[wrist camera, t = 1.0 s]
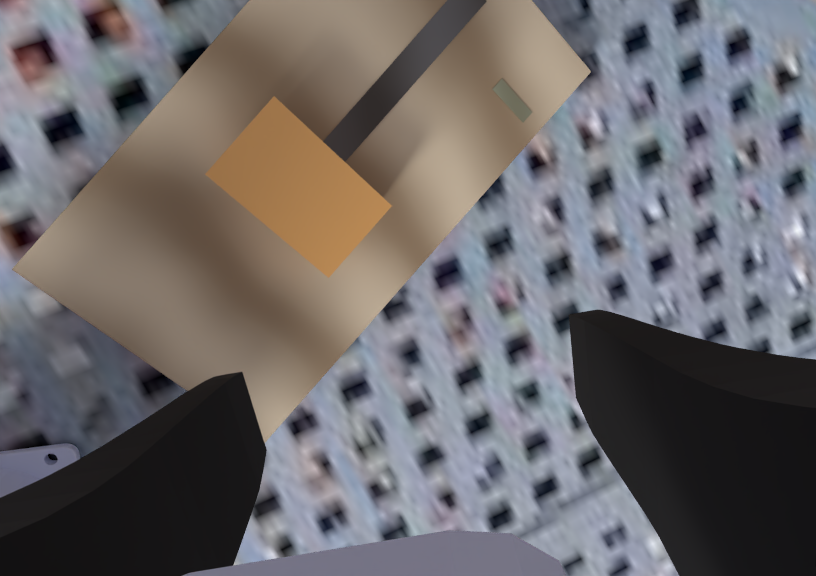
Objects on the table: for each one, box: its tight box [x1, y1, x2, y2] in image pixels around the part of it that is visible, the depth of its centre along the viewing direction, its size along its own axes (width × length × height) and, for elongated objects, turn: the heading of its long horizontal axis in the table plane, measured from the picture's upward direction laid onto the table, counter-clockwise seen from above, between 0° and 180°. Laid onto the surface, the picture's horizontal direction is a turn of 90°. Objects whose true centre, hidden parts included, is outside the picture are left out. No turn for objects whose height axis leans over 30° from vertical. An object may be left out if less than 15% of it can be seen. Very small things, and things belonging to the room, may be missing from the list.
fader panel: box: [12, 0, 591, 443], centre depth 23 cm, size 22×12×2 cm, turn 137°
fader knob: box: [205, 96, 392, 278], centre depth 20 cm, size 4×6×2 cm, turn 47°
